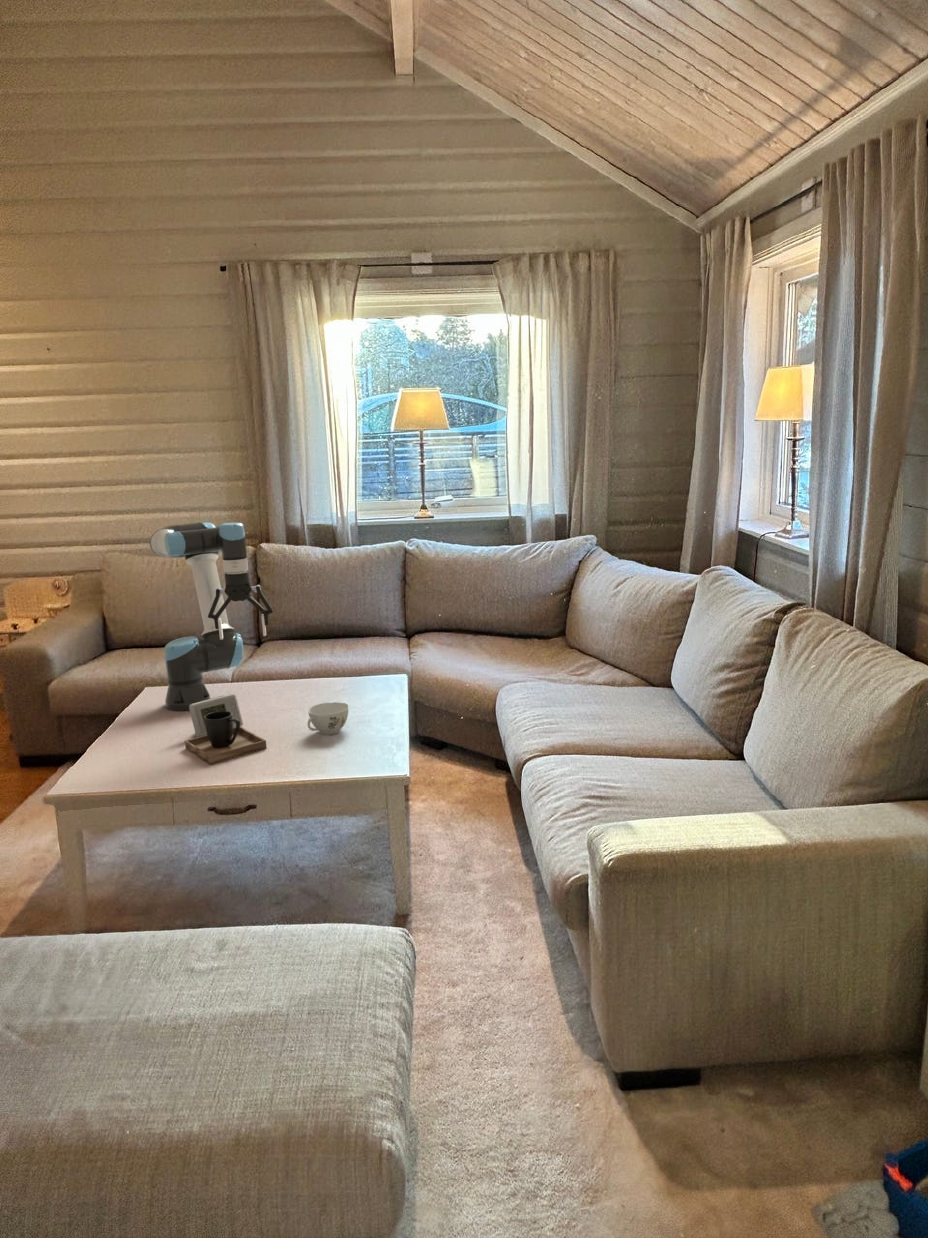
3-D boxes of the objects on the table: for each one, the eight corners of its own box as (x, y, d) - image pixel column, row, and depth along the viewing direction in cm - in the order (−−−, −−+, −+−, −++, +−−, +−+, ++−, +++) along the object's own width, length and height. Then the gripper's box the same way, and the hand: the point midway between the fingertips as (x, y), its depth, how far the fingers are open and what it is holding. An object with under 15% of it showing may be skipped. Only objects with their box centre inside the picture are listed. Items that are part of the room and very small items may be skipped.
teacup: (332, 722, 288) (330, 698, 286) (358, 729, 280) (356, 705, 278) (295, 736, 277) (293, 711, 275) (322, 744, 269) (320, 719, 267)
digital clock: (195, 740, 278) (191, 707, 276) (189, 731, 286) (185, 700, 283) (246, 729, 286) (243, 698, 283) (239, 721, 293) (235, 691, 291)
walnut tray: (185, 748, 271) (184, 741, 270) (240, 733, 282) (239, 726, 281) (210, 764, 257) (209, 756, 257) (266, 748, 268) (265, 740, 268)
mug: (231, 753, 263) (227, 722, 261) (201, 747, 269) (198, 717, 267) (250, 743, 270) (247, 714, 268) (221, 738, 276) (217, 709, 274)
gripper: (194, 576, 276) (202, 642, 281) (275, 570, 280) (282, 636, 284) (197, 572, 283) (204, 637, 288) (276, 567, 287) (283, 630, 292)
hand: (243, 636), depth 286 cm, fingers open, 13 cm apart
